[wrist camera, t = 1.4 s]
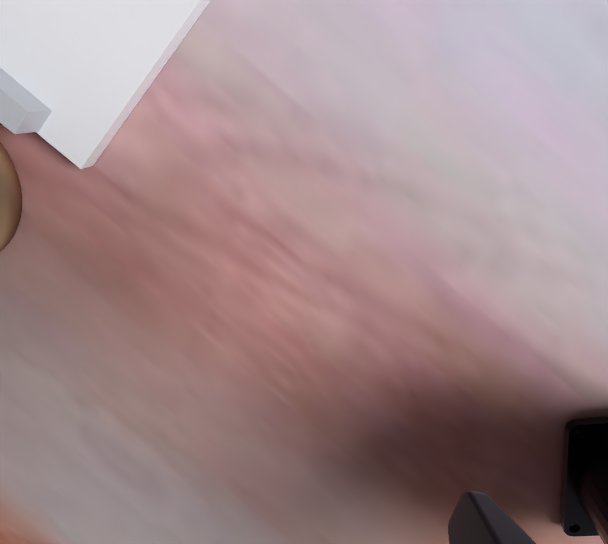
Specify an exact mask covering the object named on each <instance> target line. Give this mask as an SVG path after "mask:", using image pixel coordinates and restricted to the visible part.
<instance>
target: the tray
mask: <svg viewBox="0 0 608 544" xmlns="http://www.w3.org/2000/svg"><path fill="white" fill-rule="evenodd" d="M210 1H211V0H0V123H1V124H2V125H4V126H5V127H6V128H7V129H9V130H10V131H11V132H12V133H13V134H21V133H30V132H36V133H37V134H39V135H40V136H41V137H42V138H43V139H45V140H46V141H47V142H48V143H49V144H51V145H52V146H53V147H54V148H56V149H57V150H58V151H59V152H60V153H62V154H63V155H64V156H65V157H67V158H68V159H69V160H70V161H71V162H73V163H74V164H75V165H76V166H77V167H79V168H80V169H83V168H87V167H90V166H93V165H94V163H95V162H96V161H97V159H98V158H99V156H100V155H101V154H102V152H103V151H104V149H105V148H106V147H107V145H108V144H109V142H110V141H111V140H112V138H113V137H114V135H115V134H116V133H117V131H118V130H119V128H120V127H121V126H122V124H123V123H124V121H125V120H126V119H127V117H128V116H129V114H130V113H131V112H132V110H133V109H134V107H135V106H136V105H137V103H138V102H139V100H140V99H141V98H142V96H143V95H144V93H145V92H146V91H147V89H148V88H149V86H150V85H151V84H152V82H153V81H154V79H155V78H156V77H157V75H158V74H159V72H160V71H161V70H162V68H163V67H164V65H165V64H166V63H167V61H168V60H169V58H170V57H171V56H172V54H173V53H174V51H175V50H176V49H177V47H178V46H179V44H180V43H181V42H182V40H183V39H184V37H185V36H186V34H187V33H188V32H189V30H190V29H191V27H192V26H193V25H194V23H195V22H196V20H197V19H198V18H199V16H200V15H201V13H202V12H203V11H204V9H205V8H206V6H207V5H208V4H209V2H210Z"/></svg>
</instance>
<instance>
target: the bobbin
mask: <svg viewBox="0 0 608 544" xmlns="http://www.w3.org/2000/svg"><path fill="white" fill-rule="evenodd" d="M21 211H22V193H21V186H20V182H19V178H18V175H17V172H16V169H15V167H14V164H13V162H12V160H11V158H10V156H9V154H8V153H7V151H6V150H5V148H4V147H3V145H2V144H1V142H0V251H1V250H3V249H4V247H5V246H6V245H7V244H8V243H9V242H10V241H11V239H12V238H13V236H14V234H15V232H16V230H17V228H18V225H19V222H20V218H21Z"/></svg>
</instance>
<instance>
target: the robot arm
mask: <svg viewBox="0 0 608 544" xmlns="http://www.w3.org/2000/svg"><path fill="white" fill-rule="evenodd" d="M580 429H582V431H580V432H579V433H575V432H576V431H577V430H580ZM560 523H561V526H562V528H563V530H564V532H565V533H566V534H567V535H569V536H595V535H599V536H600V537H601V539H602V541H603V542H604V544H608V417H604V418H589V419H576V420H572V421H571V422H569V423H568V424H567V425H566V428H565V441H564V460H563V480H562V500H561V520H560ZM571 525H572V526H571ZM448 535H449V543H450V544H536V543H535V542H534V541H533V540H532V539H531V538H530V537H529V536H528V535H527V534H526V533H525V532H524V531H523V530H522V529H521V528H520V527H519V526H518V525H517V524H516V523H515V522H514V521H513V520H512V519H511V517H510V516H509V515H508V514H507V513H506V512H505V511H504V510H503V509H502V508H501V507H500V506H499V505H498V504H497V503H496V502H495V501H494V500H493V499H492V498H491V497H490V496H489V495H488V494H486V493H483V492H478V491H473V490H465V491H464V492H463V493H462V495H461V497H460V499H459V501H458V503H457V505H456V507H455V509H454V511H453V514H452V516H451V518H450V521H449V525H448Z"/></svg>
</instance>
